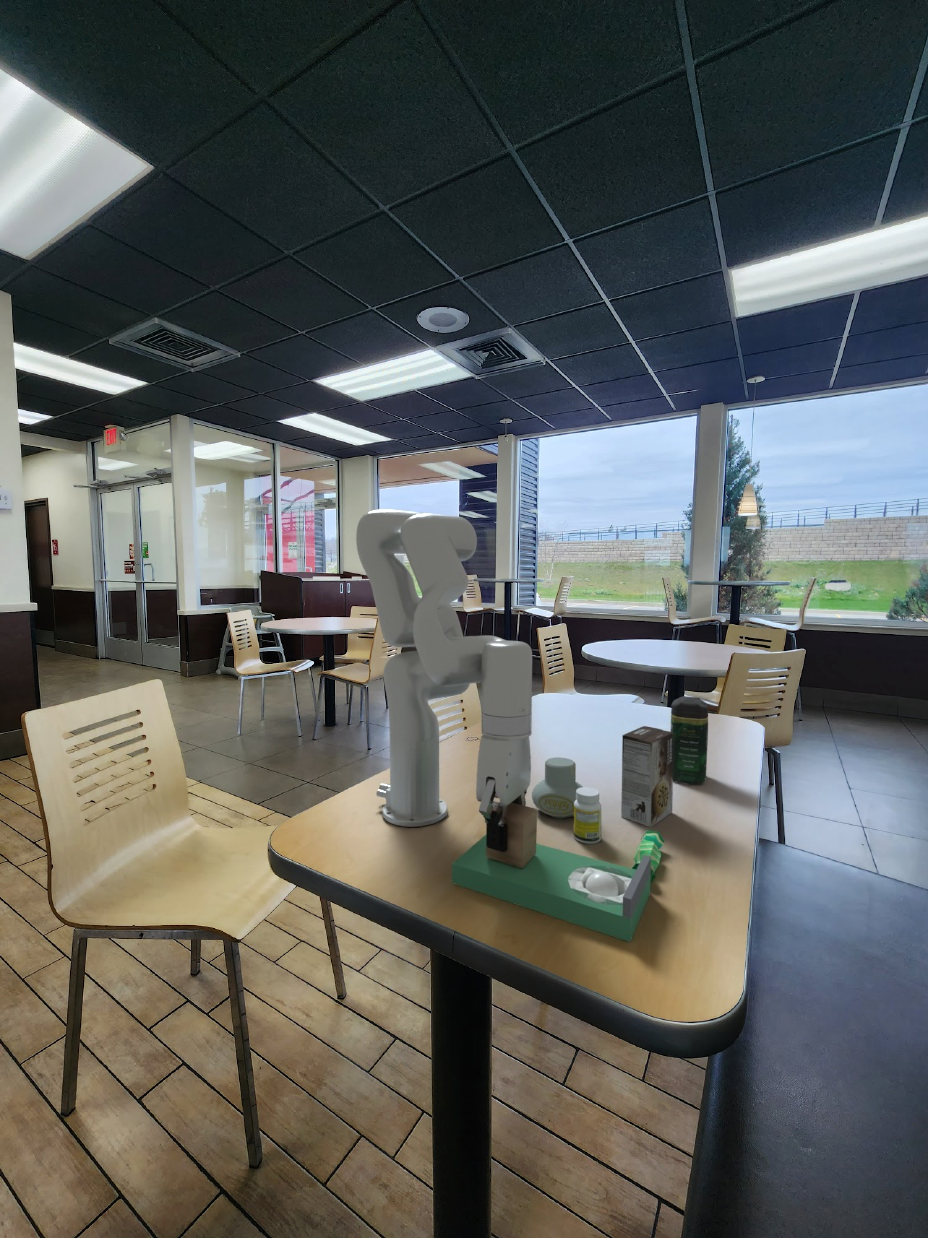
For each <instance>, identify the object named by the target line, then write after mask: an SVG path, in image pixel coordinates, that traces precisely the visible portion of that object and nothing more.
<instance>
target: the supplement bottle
mask: <svg viewBox="0 0 928 1238" xmlns="http://www.w3.org/2000/svg"><path fill="white" fill-rule="evenodd" d="M573 838H574V839H575V840H576V841H578V842H580V843H583V844H588V845H592V844H593V845H594V844H597V843H599V842H600V841H601V839H602V803H601V801H600V791H599V790H598V789H596V788H593V787H588V786H587V787H586V786H585V787H584V786H583V787H581V788H578V789H577V790H576V800H575V802H574V816H573Z"/></svg>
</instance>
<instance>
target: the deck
mask: <svg viewBox="0 0 928 1238" xmlns="http://www.w3.org/2000/svg"><path fill="white" fill-rule="evenodd" d="M595 872H605V873H608V874H609V875H611V876H612V877H613V878H614V880H615V881H616V883H617V886H618V896H617V897H603V896H600V895H596V894H593V893H591V892H590V891H588V890H587V889H586V888H585V887H586V881H587V879H588V877H589V876H590V875H591V874H593V873H595ZM650 879H651V857H650V856H646V855H643V857H642V859H641V861H640V863H639V865H638V867H637V870H635V869H632V867H631V868H630V867H627V866H623V865H619V864H615V863H613V862H608V861H605V860H599V859H596V858H593V857H589V856H585V855H581V854H577V853H573V852H569V851H566V850H562V849H559V848H558V849H557V848H555V847H550V846H548V845H543V844H540V843H536V854H535V855H534V856H533V857H532V858H531V860H530V861H529V862H528V863H527V864H526V865H525V866H524V867H523V868H519V867H516V866H513V865H510V864H507V863H504V862H500V861H497V860H494V859H491V858H488V857H486V834H485V835H484V836H482V837H481V838H480V839H479V840H478V841H476V842H475V843H474V844H473V845H472V846H471V847H470V848H468V849H467V850H466V851H465V852H464V853H462V855H460V856H459V857H458V858H457V859H455V861H453V862H452V863H451V883H452V884H453V885H457V886H461V887H463V888H465V889H469V890H472V891H474V892H478V893H481V894H484V895H487V896H490V897H492V898H493V897H494V898H495V899H499V900H502V901H505V902H508V903H510V904H514V905H517V906H521V907H523V908H526V909H529V910H531V911H535V912H539V913H541V914H544V915H547V916H550V917H553V918H556V919H560V920H562V921H565V922H569V923H571V924H574V925H577V926H580V927H583V928H586V929H589V930H591V931H596V932H599V933H601V934H605V935H606V936H607V935H608V936H610V937H613V938H617V939H619V940H622V941H625V942H629V943H632V942H631V941H632V938H633V936H634V934H635V932H636V930H637V927H638V924H639V922H640V920H641V917H642V915H643V912H644V910H645V907H646V905H647V903H648V901H649V897H650V895H651V884H650Z"/></svg>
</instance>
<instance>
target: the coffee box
mask: <svg viewBox="0 0 928 1238" xmlns="http://www.w3.org/2000/svg"><path fill="white" fill-rule="evenodd" d="M621 742H622V745H621V747H622V750H621V753H622V754H621V757H622V758H621V811H620V813H621V815H620V816H621V818H623V819H627V820H629V821H632V822H634V823H638V824H641V825H644V826H646V827H649V828H650V827H651V828H652V827H653V826H655V825H656V824H658V823H659V822H660V821H662V820H663V819H665V818H666V817H667V816H669V815H670V814H671V813H673V796H674V795H673V792H674V791H673V790H674V787H673V785H674V782H673V781H674V780H673V732H670V731H669V730H664V729H661V728H657V727H651V726H647V725H642V726H640V727H639V728H636V729H633V730H632V731H628V732H627V733H625V734H624V733H623V734H622V740H621Z"/></svg>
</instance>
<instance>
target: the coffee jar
mask: <svg viewBox="0 0 928 1238" xmlns="http://www.w3.org/2000/svg"><path fill="white" fill-rule="evenodd" d="M708 705H709V704H707V702H706V701H704V700H703V699H701V698H700V697H695V696H693V697H692V696H684V695H683V696H681V697H678V698H676V699H674V700H673V701H672V703H671V705H670V707H671V710H670V731H669V732H673V781H677V782H679V783H681V784H684V783H685V785H697V784H699V785H702V784H704V783H705V781H706V779H707V768H708V767H707V766H708V765H707V763H708V762H707V761H708V746H709V745H708V741H709V707H708Z"/></svg>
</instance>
